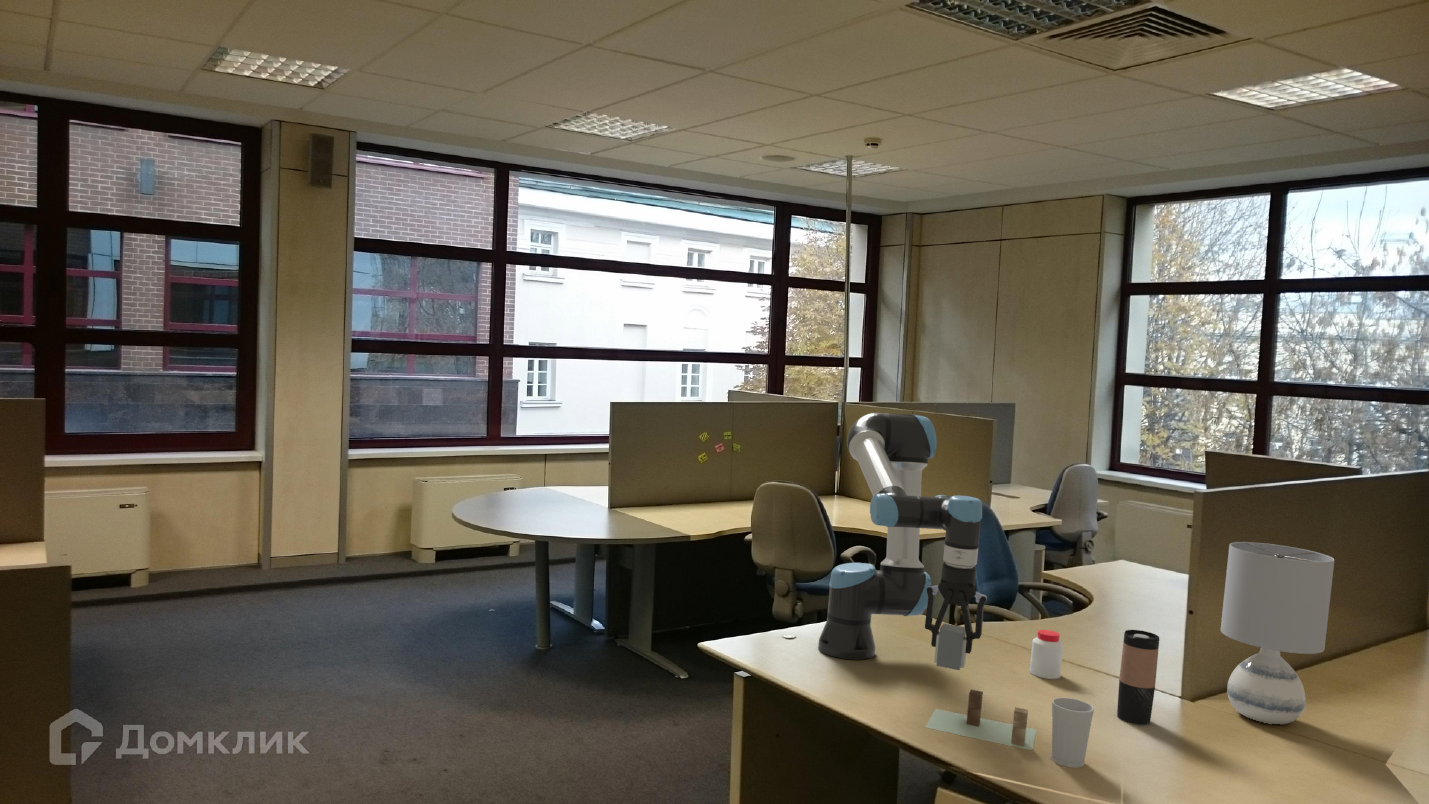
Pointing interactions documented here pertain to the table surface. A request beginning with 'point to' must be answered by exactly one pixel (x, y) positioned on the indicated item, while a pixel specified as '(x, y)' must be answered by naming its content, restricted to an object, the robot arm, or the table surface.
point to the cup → (1070, 731)
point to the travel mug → (1137, 676)
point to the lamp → (1274, 624)
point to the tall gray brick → (950, 646)
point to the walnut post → (974, 707)
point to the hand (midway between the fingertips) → (949, 663)
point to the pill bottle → (1046, 655)
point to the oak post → (1019, 726)
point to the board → (978, 728)
